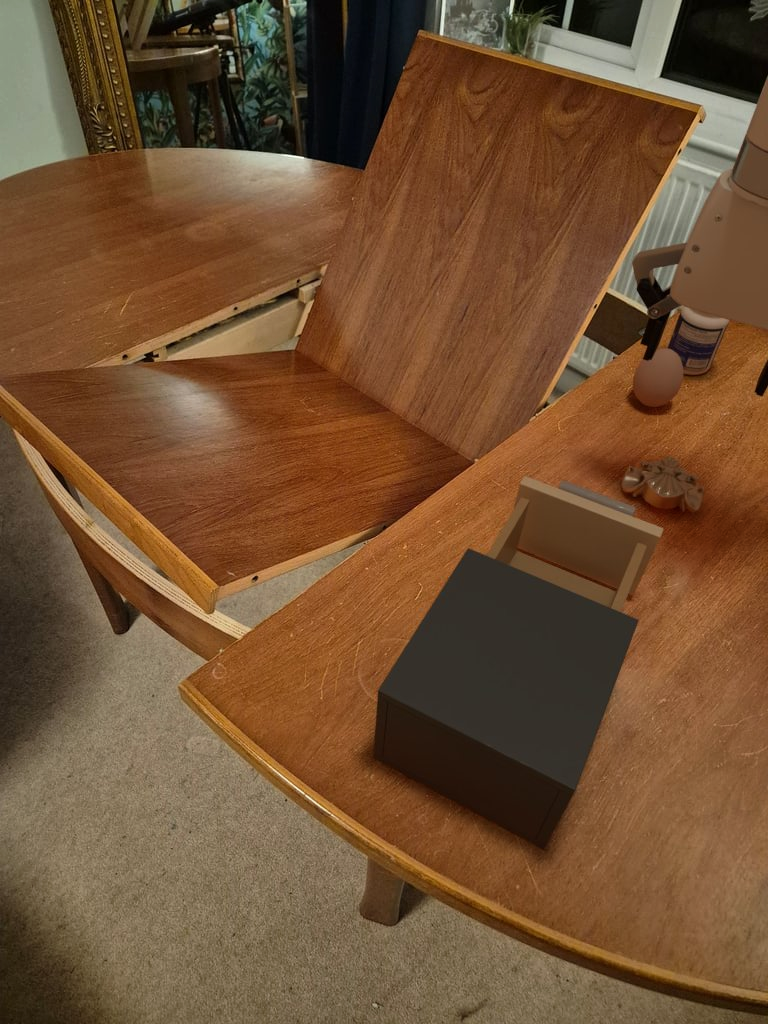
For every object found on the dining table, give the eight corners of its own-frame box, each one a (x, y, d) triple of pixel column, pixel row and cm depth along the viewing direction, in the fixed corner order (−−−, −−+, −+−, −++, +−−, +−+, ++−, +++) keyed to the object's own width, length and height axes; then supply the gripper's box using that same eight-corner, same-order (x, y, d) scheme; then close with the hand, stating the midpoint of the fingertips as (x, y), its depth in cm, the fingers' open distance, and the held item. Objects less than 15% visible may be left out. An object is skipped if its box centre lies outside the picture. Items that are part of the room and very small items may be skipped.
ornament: (702, 484, 79) (715, 459, 76) (694, 527, 74) (707, 501, 71) (627, 462, 81) (637, 436, 78) (615, 502, 76) (625, 476, 73)
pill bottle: (677, 345, 97) (704, 275, 90) (717, 364, 95) (748, 294, 88) (654, 362, 94) (680, 291, 87) (695, 382, 92) (725, 310, 85)
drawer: (525, 508, 74) (540, 448, 68) (648, 556, 70) (675, 497, 64) (450, 636, 62) (461, 577, 57) (592, 702, 59) (618, 646, 53)
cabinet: (454, 620, 65) (467, 547, 58) (605, 689, 61) (639, 619, 54) (372, 757, 56) (377, 690, 49) (543, 850, 51) (575, 790, 45)
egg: (678, 401, 89) (699, 349, 84) (661, 423, 86) (682, 370, 80) (636, 384, 91) (655, 332, 86) (619, 405, 88) (636, 352, 83)
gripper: (923, 182, 53) (811, 379, 65) (680, 129, 58) (619, 321, 70) (921, 221, 48) (801, 426, 60) (657, 160, 53) (596, 360, 66)
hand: (704, 369), depth 65 cm, fingers open, 9 cm apart
